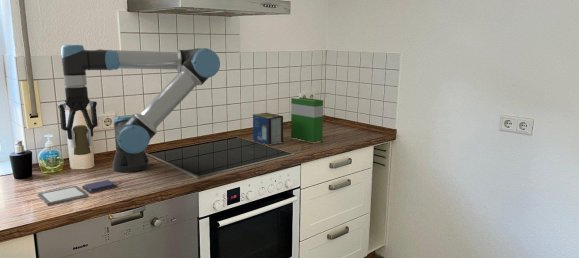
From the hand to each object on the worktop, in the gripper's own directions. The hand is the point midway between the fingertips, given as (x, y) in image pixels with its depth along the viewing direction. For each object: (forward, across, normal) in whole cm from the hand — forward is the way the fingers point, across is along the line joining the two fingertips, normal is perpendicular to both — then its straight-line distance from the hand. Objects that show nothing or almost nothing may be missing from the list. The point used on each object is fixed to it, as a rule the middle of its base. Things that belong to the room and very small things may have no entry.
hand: (81, 146), depth 162 cm
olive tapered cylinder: (+3, 0, 0) cm, 3 cm away
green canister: (+15, -119, +7) cm, 120 cm away
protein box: (+15, -100, -5) cm, 101 cm away
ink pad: (+14, -2, +11) cm, 18 cm away
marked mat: (+14, +11, +11) cm, 21 cm away
